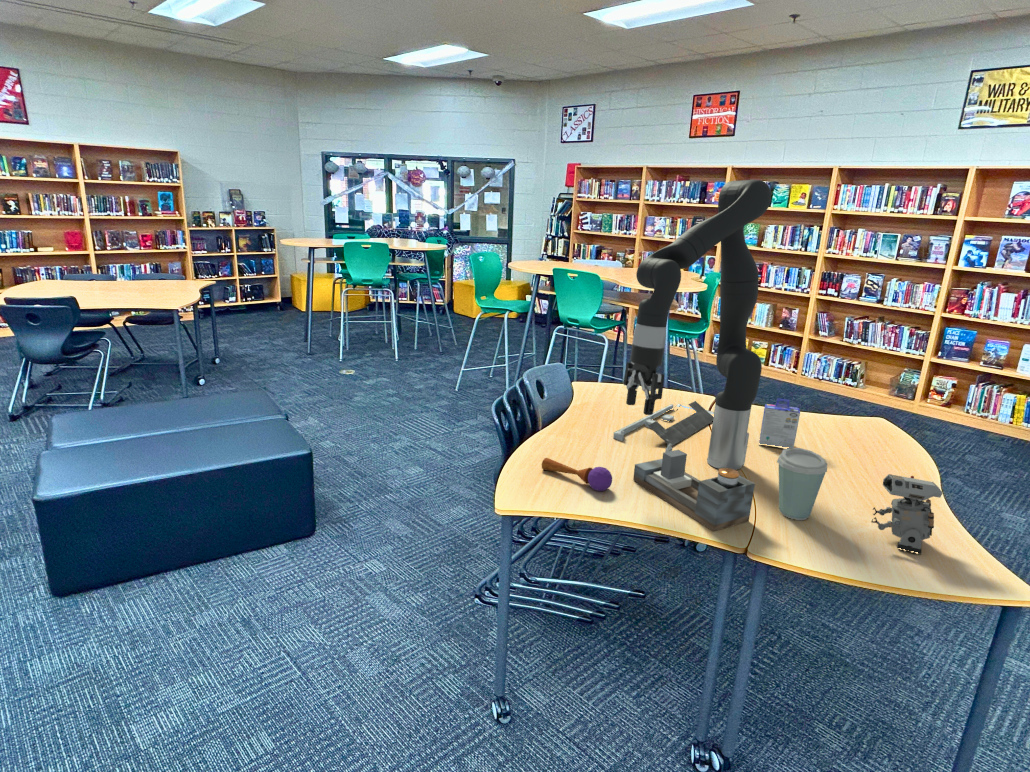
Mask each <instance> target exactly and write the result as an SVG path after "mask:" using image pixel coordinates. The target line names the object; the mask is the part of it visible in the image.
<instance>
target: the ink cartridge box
mask: <svg viewBox="0 0 1030 772" xmlns="http://www.w3.org/2000/svg"><path fill="white" fill-rule="evenodd" d="M790 401H791V400H790V399H786V398H779V397H776V403H775V404H768V403H765V404H764V408H763V415H762V416H763V417H762V421H761V428H760V434H759V439H760V440H759V439H758V444H759V443H760V444H767V445H775V446H782V447H789V448H795V443H796V437H797V431H798V427H799V420H800V415H801V410H800V408H799V407H794V406H790ZM780 402H785V403H780Z"/></svg>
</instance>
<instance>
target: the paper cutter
mask: <svg viewBox="0 0 1030 772" xmlns="http://www.w3.org/2000/svg"><path fill="white" fill-rule="evenodd" d="M676 406H677V407H680V406H682V407H684V408H688V409H689V408H690V409H693V410H695V411H696V413H694V414H692V413H691V415H688V416H687V417H685V418H684V419H681V420H680V421H678V422H676V423H674V424H673V425H670V426H669V427H667V428H665V427H664V426H663V425H662V424H660V423H659V421H657V420H655V419H654V418H656V417H658V416H660V415H662V414H663V413H665V412H666V411H668V410H670V409H672V408H673V409H674V404H669V405H667V406H665V407H663V408H660V409H659V410H656V411H655V412H654V411H653V414H652V415H646V416H644V417H642V418H640V419H638V420H637V421H636V420H635V421H634V422H632V423H630V424H628V425H626V426H624V427H622V428H620V429H618V430H616V431H614V432H613V434H612V435H613V436H612V438H613V439H614V440H618V441H621V442H623V441H624V438H625V435H627V434H629V433H630V432H632V431H634V430H636V432H638V429H639V428H640V427H642V426H644V428H647V427H648V429H651V430H652V431H653V432H654V433H655V435H657V436H658V437H659V438H661V440H663V441H664V443H666V446H667V447H666V448H665V451H664V452H669V451H673V446H675V445H676V444H678V443H680V442H681V441H683V440H685V439H686V438H688V437H689V436H692V435H693V434H695V433H696V432H698V431H700V430H702V428H705V427H706V426H708V425H709V424H712V423H713V422H712V421H713V416H712V415H711V414H714V411H713V410H707V409H705V408H704V407H703V406H702V405H701V404H700V403H698V401H696V400H694V401H692V402H691V403H688V406H686V405H682V404H681V403H677V405H676ZM689 406H690V407H689ZM660 417H661V419H663V420H667V421H670V420H672V419H675V416H674V415H672V414H668V413H666V414H664V415H662V416H660ZM658 418H659V417H658ZM652 419H654V420H652ZM656 419H657V418H656ZM672 421H673V420H672ZM670 422H671V421H670ZM643 424H644V425H643Z"/></svg>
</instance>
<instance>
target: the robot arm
mask: <svg viewBox="0 0 1030 772" xmlns="http://www.w3.org/2000/svg"><path fill="white" fill-rule="evenodd" d="M771 201H772V191H771V188H770V185H769V184H768V183H766V182H765V181H763V180H760V179H744V180H743V179H742V180H741V179H740V180H732V181H728V182H726V183H725V184H724V185H723V186H722V187H721V190H720V192H719V195H718V201H717V212H718V213H717V214H715V215H713V216H711V217H709V218H706V219H705V220H702V221H700V222H699V223H697V224H695V225H693V226H691V227H689V228H688V229H687V230H686V231H684V232H683V233H682V234H681V235H679V237H678V238H676V239H675V240H674V241H673V242H671V243H670V244H668V245H667V246H664V247H662V248H661V249H658V250H656V251H654V252H653V253H650V255H648V256H647V257H645V258H644V259H643V260H642V261H641V262H640V264H639V265H638V266H637V269H636V273H635V274H636V280H637V282H638V284H639V285H641V286H642V287H644V288H646V289H653V290H652V291H653V292H652V294H651V296H650V298H646V299H642V300H641V301H640V302H639V304H638V309H637V316H636V324H635V328H634V331H633V334H632V335H633V336H632V344H631V350H630V359H629V360H630V361H628V362H626V365H625V371H624V377H623V383H622V384H623V385H624V386H626V390H627V394H626V403H625V404H626V405H627V406H635V405H636V401H637V393H638V388H639V387H641V390H642V391H643V392H644V396H645V400H644V407H643V415H646V416H648V415H652V414H653V413H654V411H655V404H656V401H657V400H662V399H663V390H664V382H665V373H658V372H657V368H658V367H661V366H662V364H663V358H664V351H665V347H666V346H665V345H666V339H667V338H666V337H667V324H668V319H669V312H670V308H671V306H672V304H673V302H674V299H675V297H676V295H677V292H678V290H679V288H680V285H681V280H682V271H681V270H685V269H688V268H690V267H691V266H692V265H694V264H696V262H697V261H699V260H700V259H701V258H702V257H704V255H705V254H707V253H708V252H709V251H710V250H711V249H712V248H714V247H715V246H717V245H718V244H719V243H720V276H719V277H720V279H719V280H720V286H719V297H720V298H719V299H720V300H719V301H720V305H719V308H720V309H719V323H720V324H719V333H718V334H719V335H718V343H717V351H716V357H715V358H716V362H715V364H716V368H717V370H718V372H719V373H720V374H721V376H723V377H725V378H726V381H725V386H724V389H723V390H722V391H720V392H718V393H717V394H716V396H715V404H714V411H713V412H714V417H713V422H712V423H711V424H712V425H711V431H710V432H711V433H710V437H709V446H708V453H707V464H708V465H709V466H711V467H714V468H715V469H718V470H719V469H721V468H730V469H734V470H736V471H738V470H737V469H739V470H740V469H741V468H742V467H743V466H745V462H746V457H747V451H748V444H749V437H750V433H749V432H748V429H749V423H750V417H751V410H752V405H753V403H754V401H755V399H756V397H757V394H758V390H759V385H760V381H761V377H762V376H761V375H762V370H763V369H762V368H763V367H762V360H761V358H760V356H759V355H758V354H757V353H756V352H754V351H753V350H750V349H748V348H747V326H748V322H749V320H750V317H751V315H752V313H753V311H754V309H755V306H756V304H757V300H758V297H759V269H758V265H757V263H756V261H755V259H754V257H753V255H752V252H751V251H750V249H749V246H748V245H747V242H746V239H745V238H746V237H745V233H744V227H745V226H747V225H749V224H750V223H752V222H754V221H756V220H757V219H759V218H760V217H762V216H763V215H764V214H765V213H766V211H767V210H768V209H769V206H770V205H771ZM742 465H743V466H742Z"/></svg>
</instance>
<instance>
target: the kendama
mask: <svg viewBox="0 0 1030 772" xmlns="http://www.w3.org/2000/svg"><path fill="white" fill-rule="evenodd" d="M541 468H542V470H543V471H547V472H548V471H550V472H556V473H563V474H568V475H569V474H571V475H576V476H578V477H579V479H580V480H581V481H583V482H584V483H585V484H586V485H589V487H591V488H592V489H593V490H594V491H597V492H603V491H607V490H609V488H610V487H611V485H612V483H613V475H612V473H611V471H610V470H609V469H607V468H606V467H604V466H603V467H602V466H596V467H593V468H592V467H587V468H583V469H579V470H578V469H575V468H573V467H570V466H569V465H566V464H563V463H561V462H559V461H556V460H553V459H552V458H549V457H545V458H544V459H543V460H542V463H541Z"/></svg>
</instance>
